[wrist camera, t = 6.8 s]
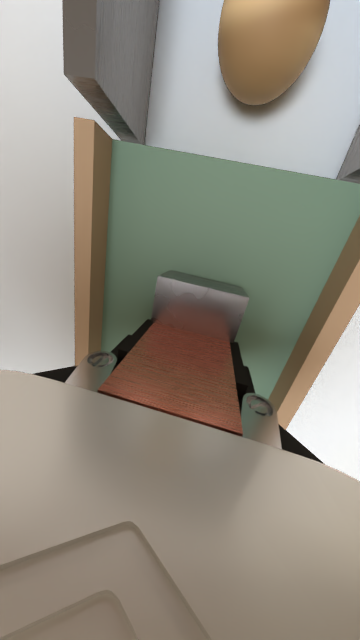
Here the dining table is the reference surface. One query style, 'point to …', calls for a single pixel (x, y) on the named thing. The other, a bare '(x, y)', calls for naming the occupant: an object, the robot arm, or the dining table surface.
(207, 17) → the dining table surface
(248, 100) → the ball
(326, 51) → the dining table surface
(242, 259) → the pitch
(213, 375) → the silver-capped pink block
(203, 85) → the dining table surface
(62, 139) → the dining table surface
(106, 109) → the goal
